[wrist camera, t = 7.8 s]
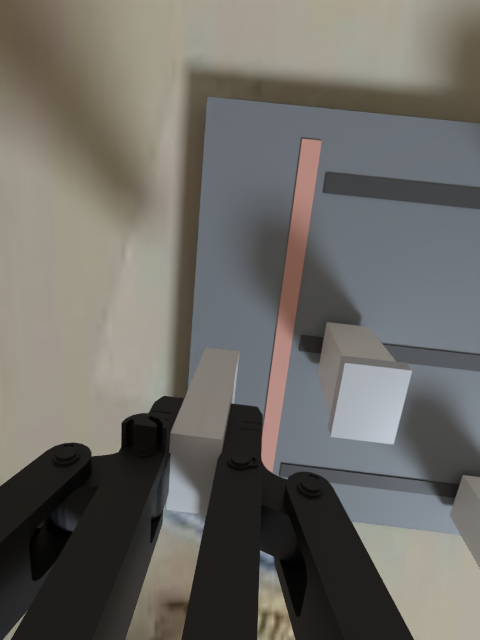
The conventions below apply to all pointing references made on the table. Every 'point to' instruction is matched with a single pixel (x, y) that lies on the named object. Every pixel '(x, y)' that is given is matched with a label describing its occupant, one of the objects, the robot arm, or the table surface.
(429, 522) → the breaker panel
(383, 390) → the block
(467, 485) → the block
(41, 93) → the table surface
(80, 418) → the table surface
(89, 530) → the robot arm
